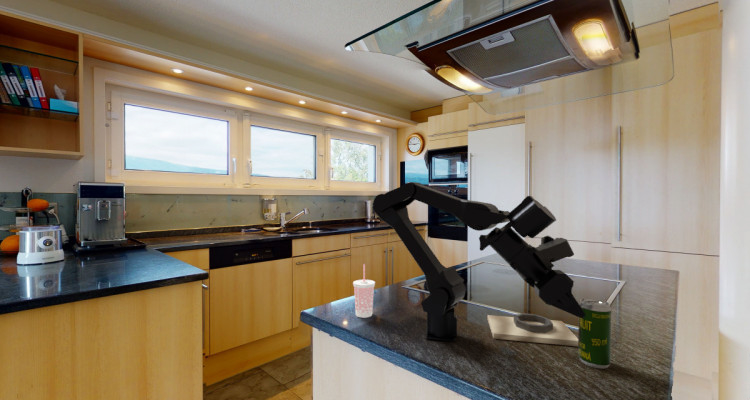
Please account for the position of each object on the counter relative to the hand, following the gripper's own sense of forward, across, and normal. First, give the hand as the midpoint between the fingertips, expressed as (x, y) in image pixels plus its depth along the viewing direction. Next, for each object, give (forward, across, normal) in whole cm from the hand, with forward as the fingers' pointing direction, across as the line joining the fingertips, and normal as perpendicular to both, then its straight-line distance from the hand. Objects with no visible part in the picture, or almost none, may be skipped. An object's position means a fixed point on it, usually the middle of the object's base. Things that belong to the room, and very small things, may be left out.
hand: (574, 308), depth 65 cm
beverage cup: (-26, +15, +41) cm, 51 cm away
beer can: (+10, 0, +5) cm, 11 cm away
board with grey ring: (+4, +13, +11) cm, 18 cm away
